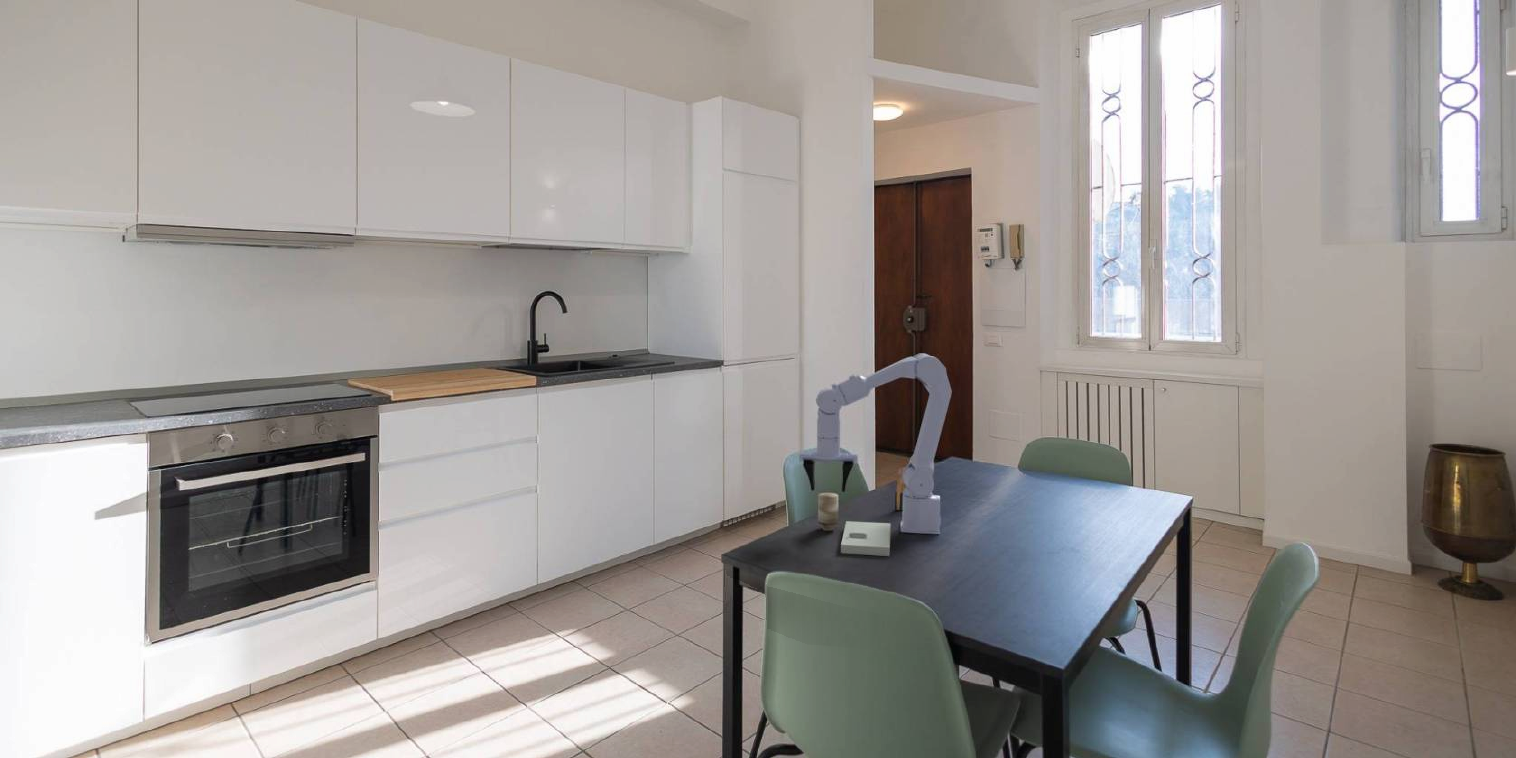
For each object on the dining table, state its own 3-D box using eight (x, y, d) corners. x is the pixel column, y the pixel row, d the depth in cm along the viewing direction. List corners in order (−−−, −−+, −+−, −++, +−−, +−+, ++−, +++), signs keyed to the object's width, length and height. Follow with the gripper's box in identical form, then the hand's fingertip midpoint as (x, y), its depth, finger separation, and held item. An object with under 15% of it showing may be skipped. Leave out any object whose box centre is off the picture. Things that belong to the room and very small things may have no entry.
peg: (838, 526, 192) (839, 493, 191) (837, 532, 187) (837, 498, 186) (819, 525, 193) (819, 492, 192) (817, 531, 188) (817, 497, 187)
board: (890, 531, 188) (890, 523, 188) (889, 555, 171) (889, 547, 170) (846, 528, 190) (846, 521, 190) (840, 553, 173) (840, 544, 172)
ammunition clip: (900, 511, 205) (901, 468, 204) (894, 510, 206) (895, 467, 205) (920, 503, 213) (921, 461, 212) (914, 502, 214) (915, 460, 213)
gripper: (858, 434, 190) (858, 487, 191) (801, 433, 192) (801, 484, 194) (857, 440, 183) (856, 494, 185) (798, 438, 186) (797, 492, 187)
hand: (828, 490), depth 189 cm, fingers open, 7 cm apart
